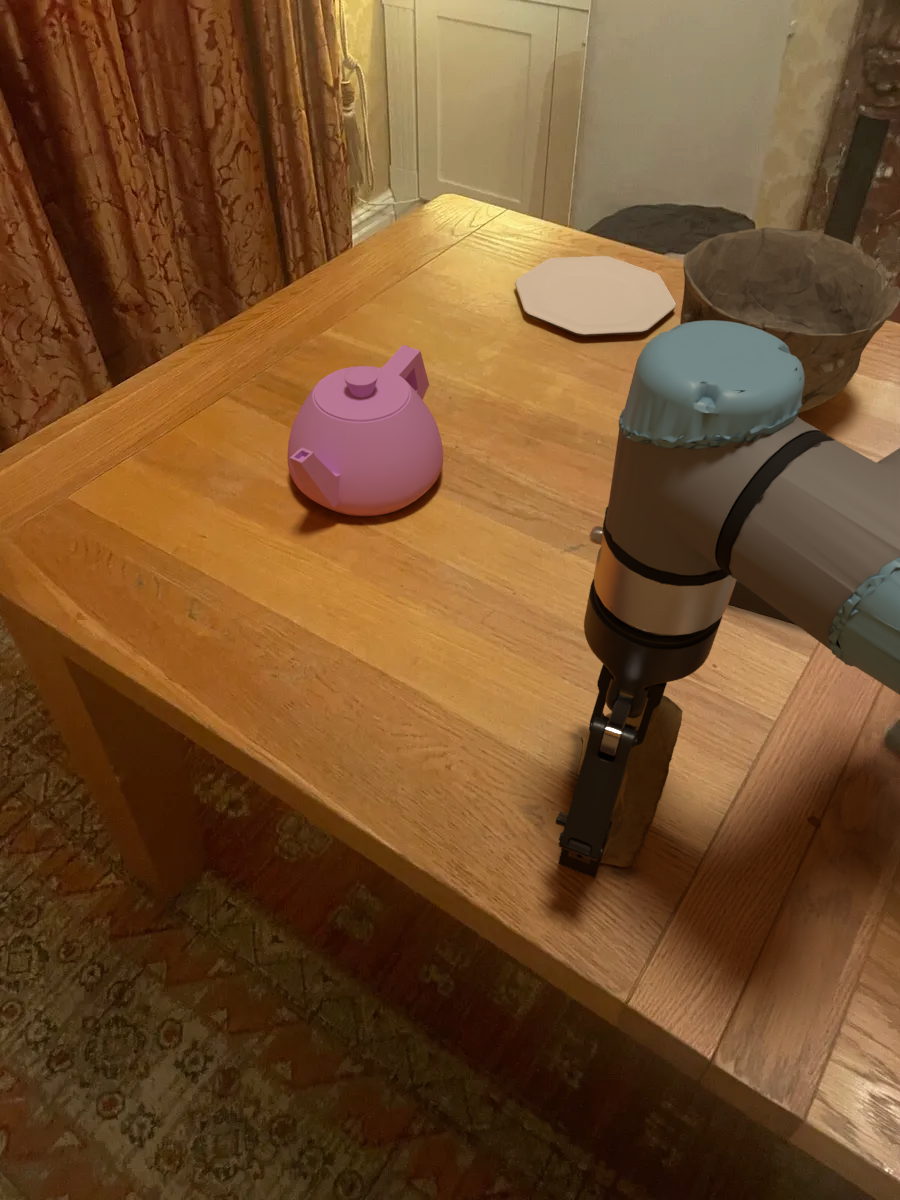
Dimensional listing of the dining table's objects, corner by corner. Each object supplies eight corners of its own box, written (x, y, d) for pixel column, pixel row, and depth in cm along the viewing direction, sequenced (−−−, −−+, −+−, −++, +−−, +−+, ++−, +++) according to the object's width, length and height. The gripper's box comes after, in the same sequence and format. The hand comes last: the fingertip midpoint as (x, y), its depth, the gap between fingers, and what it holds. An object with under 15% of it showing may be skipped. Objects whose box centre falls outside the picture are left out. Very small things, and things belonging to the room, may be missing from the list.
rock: (665, 889, 60) (727, 772, 65) (604, 807, 57) (673, 691, 61) (549, 857, 69) (611, 756, 73) (489, 785, 65) (558, 684, 70)
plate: (696, 298, 120) (698, 287, 118) (619, 360, 109) (621, 349, 108) (570, 253, 128) (571, 242, 127) (487, 307, 117) (488, 296, 116)
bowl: (792, 482, 94) (841, 354, 83) (619, 398, 103) (641, 274, 92) (884, 394, 105) (937, 271, 94) (719, 326, 115) (750, 207, 104)
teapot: (359, 400, 102) (352, 301, 93) (482, 441, 97) (487, 341, 89) (239, 513, 89) (219, 410, 80) (375, 567, 84) (369, 464, 75)
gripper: (646, 454, 60) (600, 663, 75) (523, 731, 44) (498, 920, 60) (761, 484, 58) (689, 692, 74) (674, 784, 42) (607, 964, 58)
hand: (603, 794), depth 67 cm, fingers open, 12 cm apart
